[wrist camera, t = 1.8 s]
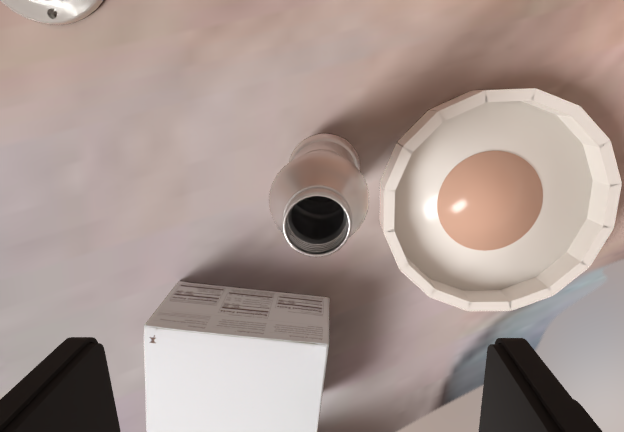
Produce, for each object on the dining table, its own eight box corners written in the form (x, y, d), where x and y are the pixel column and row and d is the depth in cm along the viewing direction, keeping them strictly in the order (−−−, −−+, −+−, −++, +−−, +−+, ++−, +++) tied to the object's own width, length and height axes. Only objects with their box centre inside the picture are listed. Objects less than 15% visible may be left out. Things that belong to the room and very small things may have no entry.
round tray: (380, 94, 39) (385, 93, 35) (612, 85, 38) (639, 84, 34) (378, 295, 45) (382, 311, 41) (578, 293, 43) (599, 310, 40)
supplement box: (177, 378, 49) (143, 442, 40) (178, 278, 45) (140, 324, 36) (318, 395, 49) (315, 462, 40) (330, 295, 45) (330, 345, 36)
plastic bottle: (367, 181, 41) (398, 258, 22) (304, 205, 42) (282, 297, 23) (344, 120, 40) (357, 144, 20) (280, 146, 41) (234, 192, 21)
